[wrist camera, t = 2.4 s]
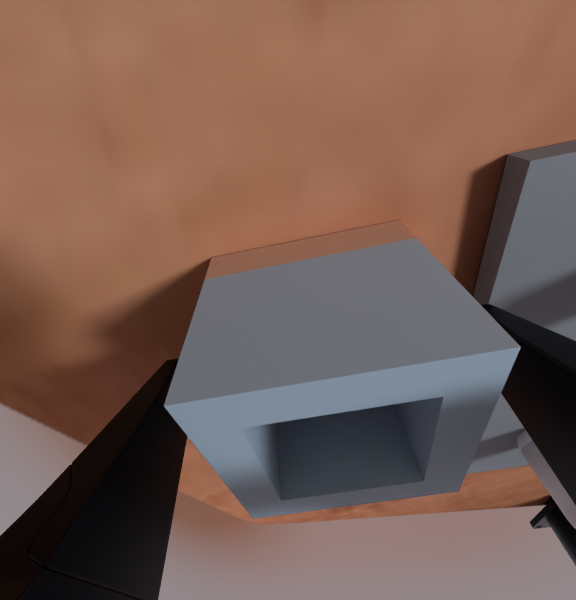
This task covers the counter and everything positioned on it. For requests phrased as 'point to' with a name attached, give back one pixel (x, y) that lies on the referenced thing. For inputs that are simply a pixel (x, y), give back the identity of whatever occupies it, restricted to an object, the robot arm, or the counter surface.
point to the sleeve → (338, 372)
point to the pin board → (530, 286)
